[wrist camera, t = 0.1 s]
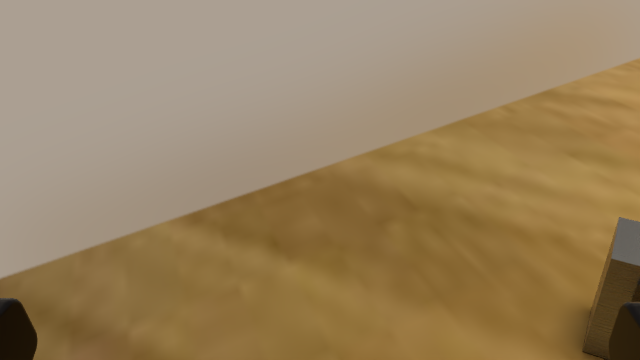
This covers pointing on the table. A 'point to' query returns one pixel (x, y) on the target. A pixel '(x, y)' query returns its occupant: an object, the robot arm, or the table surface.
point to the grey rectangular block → (615, 286)
